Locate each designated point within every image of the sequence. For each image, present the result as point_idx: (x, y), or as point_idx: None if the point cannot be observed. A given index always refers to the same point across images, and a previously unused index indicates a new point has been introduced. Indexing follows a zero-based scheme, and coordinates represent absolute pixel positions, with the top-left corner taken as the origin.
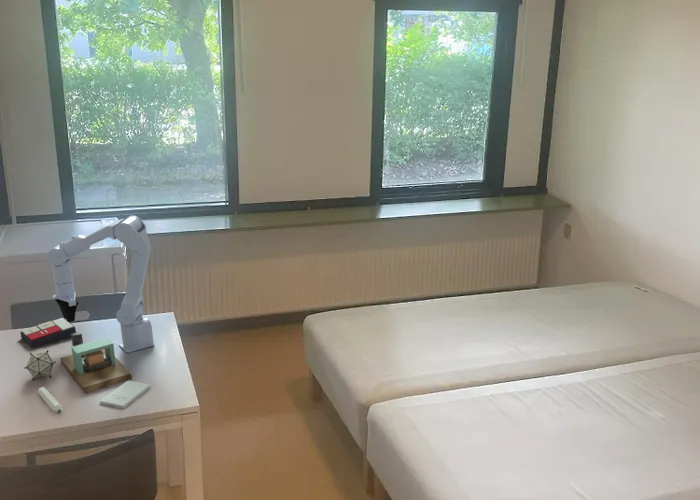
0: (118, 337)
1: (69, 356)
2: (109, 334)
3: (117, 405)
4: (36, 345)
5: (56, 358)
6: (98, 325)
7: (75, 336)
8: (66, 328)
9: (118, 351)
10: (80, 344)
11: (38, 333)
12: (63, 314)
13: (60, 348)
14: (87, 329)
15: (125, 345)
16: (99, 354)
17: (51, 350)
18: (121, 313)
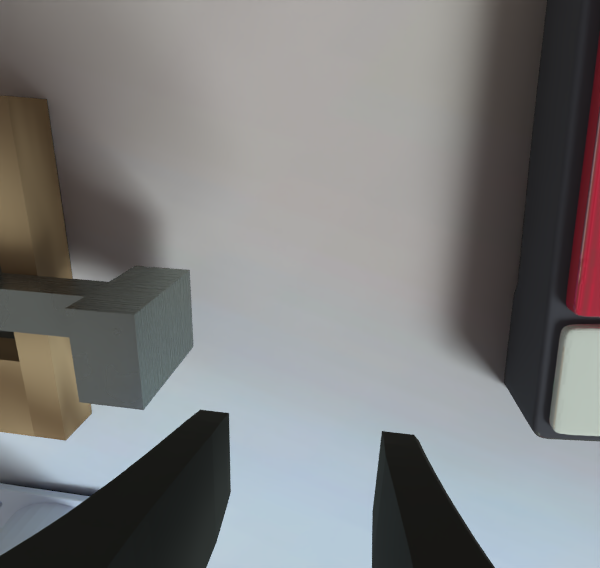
0: (252, 547)
1: (1, 174)
2: (339, 536)
3: None
4: (555, 1)
5: (168, 99)
6: (558, 560)
7: (80, 333)
8: (562, 367)
9: (50, 462)
10: (51, 315)
11: None
12: (393, 485)
13: (348, 195)
14: (555, 485)
15: (18, 521)
16: None
17: (363, 115)
18: None
